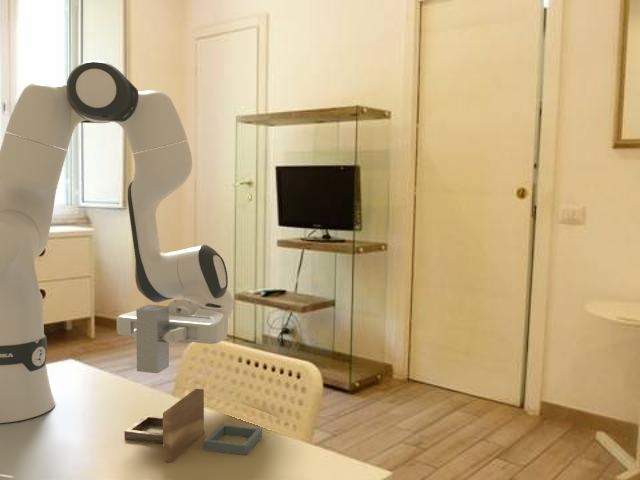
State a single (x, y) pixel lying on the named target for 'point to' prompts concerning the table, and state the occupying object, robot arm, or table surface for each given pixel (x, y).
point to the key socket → (138, 435)
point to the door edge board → (183, 424)
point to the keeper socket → (231, 447)
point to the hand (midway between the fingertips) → (150, 336)
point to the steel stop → (152, 338)
